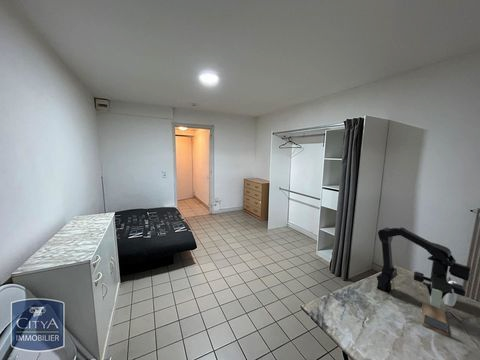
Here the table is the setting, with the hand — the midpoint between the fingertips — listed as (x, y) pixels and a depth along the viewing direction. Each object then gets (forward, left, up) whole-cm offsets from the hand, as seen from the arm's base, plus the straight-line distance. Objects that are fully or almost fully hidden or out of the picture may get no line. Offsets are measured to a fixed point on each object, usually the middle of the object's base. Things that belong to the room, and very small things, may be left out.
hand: (435, 297), depth 103 cm
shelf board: (0, -4, -10) cm, 10 cm away
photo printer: (+8, +18, -10) cm, 22 cm away
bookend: (0, -13, -8) cm, 15 cm away
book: (0, 0, -3) cm, 3 cm away
